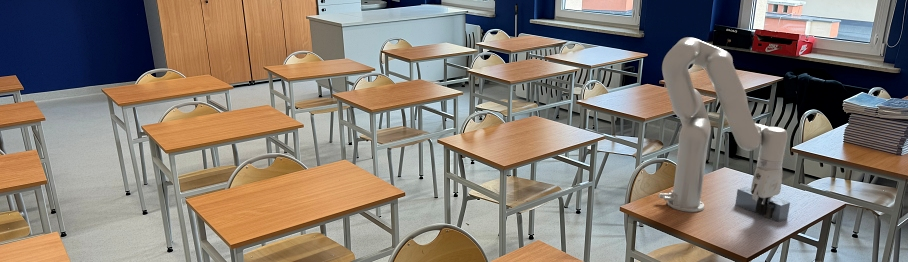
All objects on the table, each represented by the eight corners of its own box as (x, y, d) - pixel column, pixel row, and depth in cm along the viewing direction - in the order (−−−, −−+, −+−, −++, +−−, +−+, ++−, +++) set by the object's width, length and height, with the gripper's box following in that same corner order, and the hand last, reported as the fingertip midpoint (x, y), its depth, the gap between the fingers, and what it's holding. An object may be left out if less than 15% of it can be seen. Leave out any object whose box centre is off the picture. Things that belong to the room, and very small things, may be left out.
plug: (768, 218, 223) (770, 208, 222) (758, 214, 226) (759, 204, 225) (787, 212, 229) (789, 201, 228) (776, 208, 232) (778, 198, 231)
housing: (778, 221, 221) (781, 205, 219) (735, 204, 235) (737, 189, 233) (787, 219, 223) (790, 202, 222) (744, 202, 237) (746, 186, 236)
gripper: (764, 170, 211) (755, 221, 217) (793, 163, 218) (784, 213, 224) (745, 162, 218) (736, 213, 223) (774, 157, 225) (765, 206, 230)
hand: (760, 213), depth 223 cm, fingers closed
